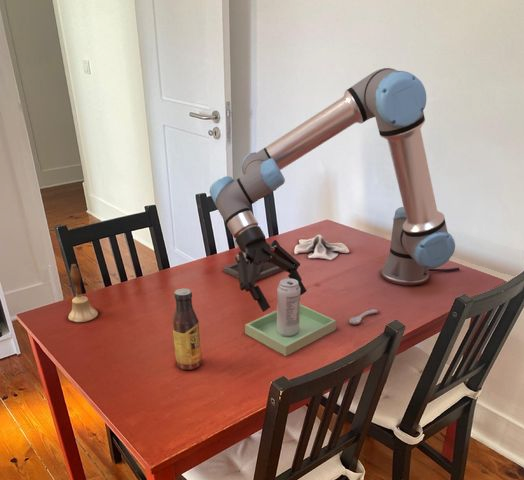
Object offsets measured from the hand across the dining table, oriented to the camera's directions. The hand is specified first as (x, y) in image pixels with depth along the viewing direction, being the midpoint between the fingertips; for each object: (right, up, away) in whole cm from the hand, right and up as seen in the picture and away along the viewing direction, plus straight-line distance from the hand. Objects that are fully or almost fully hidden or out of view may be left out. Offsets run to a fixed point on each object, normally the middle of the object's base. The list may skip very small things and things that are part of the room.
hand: (285, 301), depth 140 cm
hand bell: (-58, -3, +14) cm, 60 cm away
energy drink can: (+1, -8, +4) cm, 9 cm away
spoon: (+23, -4, +12) cm, 26 cm away
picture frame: (-8, +14, +41) cm, 44 cm away
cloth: (+14, +24, +57) cm, 63 cm away
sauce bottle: (-24, -17, -8) cm, 30 cm away
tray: (+2, -8, +6) cm, 10 cm away
